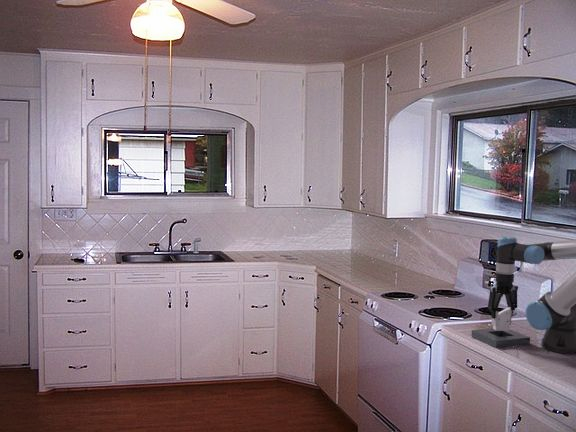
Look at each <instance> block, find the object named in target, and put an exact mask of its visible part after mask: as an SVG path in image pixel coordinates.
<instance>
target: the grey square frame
mask: <svg viewBox="0 0 576 432" xmlns="http://www.w3.org/2000/svg"><path fill="white" fill-rule="evenodd" d="M471 338H472V339H475V340H477V341H480V342H482V343H484V344H486V345H489V346H491V347H493V348H495V349H497V348H498V349H499V347H500V348H508V347H507V346H509V347H516V345H519V346H525V345H526V346H527V344H528V345H531V337H530V336H527V335H525V334H523V333H520V332H517V331H515V330H513V329H510V328H509V331H496V330H495V329H493V327H492V328H481V329H472V330H471Z"/></svg>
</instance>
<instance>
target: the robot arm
mask: <svg viewBox="0 0 576 432" xmlns="http://www.w3.org/2000/svg"><path fill="white" fill-rule="evenodd" d="M517 240H518V239H517V238H516V237H514V236H500V237H498V239H497V246H496V248H497V250H496V264H495V266H496V267H495V271H496V272H495V277H494V278H495V279H494V281H495V284H494V286H489V295H488V304H487V309H488V310H490V311H491V313H490V315H491V316H490V317H491V326H492V327H493V326H497V324H498V313H499V311H498V309H499V305H500V304H501V299H502V297H503V296H505V301H506V306H507V308H508V307H510V308H511V312H510V326H511V325H512V318H513V314H514V311H515V310H516V309H518V291H519V286H518V285H514V284H513V283H514V282H515V281H514V280H515V267H516V266H515V265H516V262H521V263H525V264H529V265H541V263H542V262H543V261H556V260H557V261H558V260H572V259H575V260H576V239H575V240H562V241H553V242H552V241H551V242H542V243H532V244H527V243H526V244H525V243H519V242H518V241H517ZM525 319H526V321H527V322H528V324H529V325H530V326H531V327H532V328H534V329H535V330H537V331H545V332H544V334H543V337H542V338H541V341H540V342H541V344H540V346H541V347H542V348H543V349H546V350H548V351H551V352H554V351H555V353H559V352H560V354H567V353H573V354H576V353H575V352H576V271H575V272H574V273H573V274H572V275H571V276H570V277H568V279H566V280H565V281H564V282H563V283H562V284H561V285H559V286H558V287H557V288H556V289H555V290H554V291H549V290H548V291H547V292H546V293H545V294H544V295H542V296H541V297H540V298H539V299H537V300H533V301H531V302H530V303H529V304H527V306H526V307H525Z"/></svg>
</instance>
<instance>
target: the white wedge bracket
mask: <svg viewBox="0 0 576 432" xmlns="http://www.w3.org/2000/svg"><path fill="white" fill-rule="evenodd" d="M510 312H511V308H510V307H508V306H507V307H506V308H504V309H502V310H501V311H498V324H497V326H493V325H492V328H493V329H495V330H496V331H509V329H510V327H511V325H510Z"/></svg>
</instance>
